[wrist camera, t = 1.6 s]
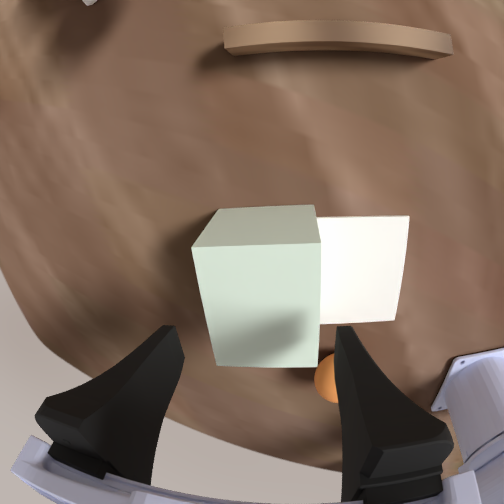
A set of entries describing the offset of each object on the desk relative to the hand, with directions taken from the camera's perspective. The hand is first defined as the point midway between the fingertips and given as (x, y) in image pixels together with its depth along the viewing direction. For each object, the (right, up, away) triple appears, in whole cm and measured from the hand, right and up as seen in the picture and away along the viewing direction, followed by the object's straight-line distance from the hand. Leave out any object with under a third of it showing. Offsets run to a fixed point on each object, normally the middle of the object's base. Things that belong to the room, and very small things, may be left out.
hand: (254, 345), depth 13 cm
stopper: (+5, +16, 0) cm, 16 cm away
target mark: (+6, +3, +7) cm, 9 cm away
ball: (+7, -5, +8) cm, 12 cm away
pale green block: (+1, +3, +7) cm, 8 cm away
